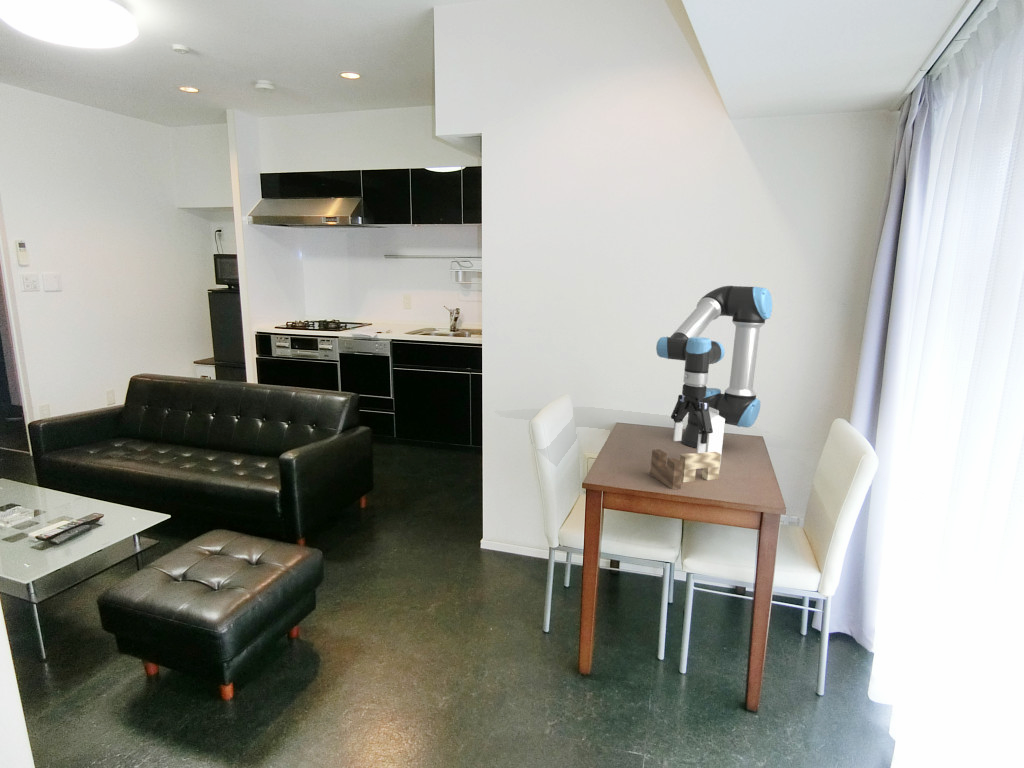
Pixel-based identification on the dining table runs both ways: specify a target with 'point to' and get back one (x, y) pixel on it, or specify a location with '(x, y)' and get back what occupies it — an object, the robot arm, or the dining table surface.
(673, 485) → the slotted base
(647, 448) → the dining table surface
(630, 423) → the dining table surface
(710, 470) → the cross plate
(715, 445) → the milk
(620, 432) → the dining table surface
